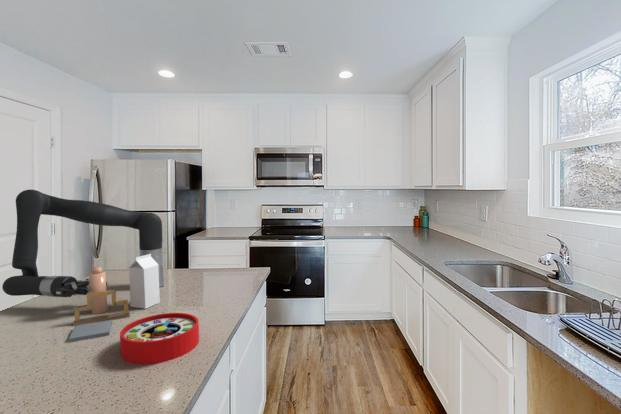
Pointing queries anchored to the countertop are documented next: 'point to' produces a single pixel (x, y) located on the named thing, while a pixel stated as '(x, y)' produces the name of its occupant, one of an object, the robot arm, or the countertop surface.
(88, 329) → the pad
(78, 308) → the golden stepped frame
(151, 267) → the milk carton
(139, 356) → the toy clock
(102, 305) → the peach bottle
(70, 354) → the countertop surface
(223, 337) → the countertop surface
